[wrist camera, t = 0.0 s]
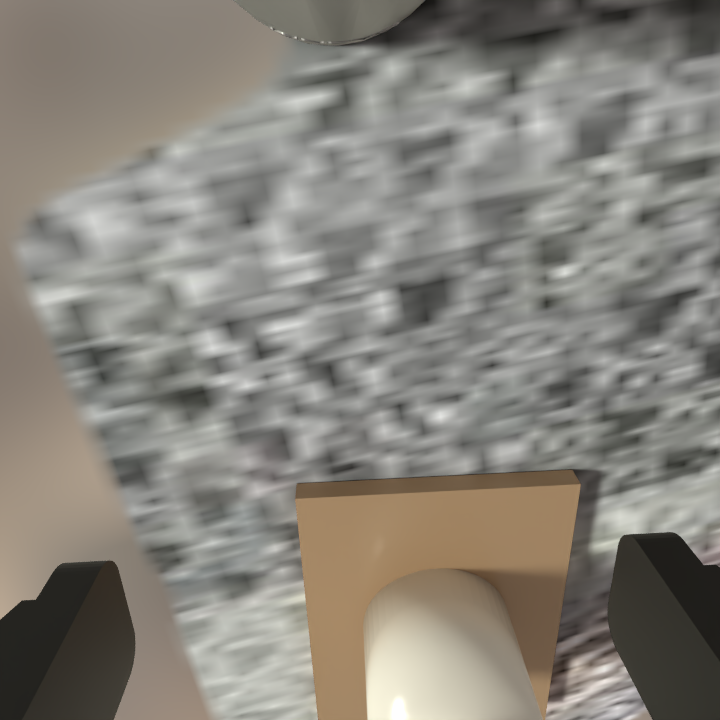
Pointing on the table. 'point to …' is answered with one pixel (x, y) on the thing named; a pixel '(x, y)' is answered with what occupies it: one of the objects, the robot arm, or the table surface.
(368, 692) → the board with white bottle
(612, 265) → the table surface
